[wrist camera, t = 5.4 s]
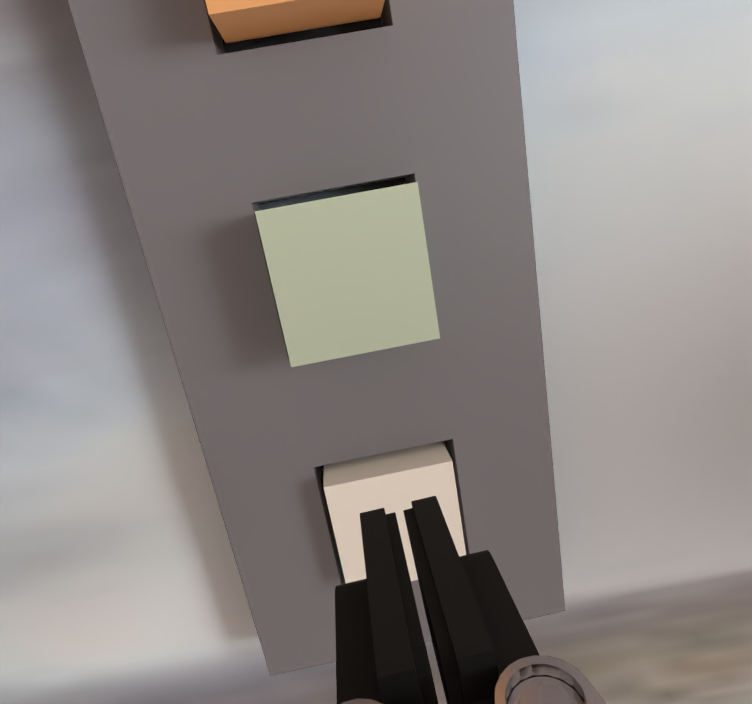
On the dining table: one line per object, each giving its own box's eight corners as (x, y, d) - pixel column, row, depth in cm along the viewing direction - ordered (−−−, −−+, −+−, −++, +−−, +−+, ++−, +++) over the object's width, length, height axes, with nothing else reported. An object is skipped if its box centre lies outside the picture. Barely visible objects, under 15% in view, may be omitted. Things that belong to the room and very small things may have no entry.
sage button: (405, 185, 16) (417, 181, 14) (426, 322, 17) (440, 338, 15) (264, 211, 16) (254, 211, 13) (295, 347, 17) (291, 367, 15)
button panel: (458, -318, 14) (478, -401, 12) (545, 576, 22) (565, 610, 21) (18, -255, 14) (-33, -332, 12) (275, 635, 22) (270, 675, 20)
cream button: (438, 433, 19) (452, 461, 17) (453, 532, 21) (468, 569, 18) (323, 456, 19) (323, 487, 17) (346, 554, 20) (348, 594, 18)
